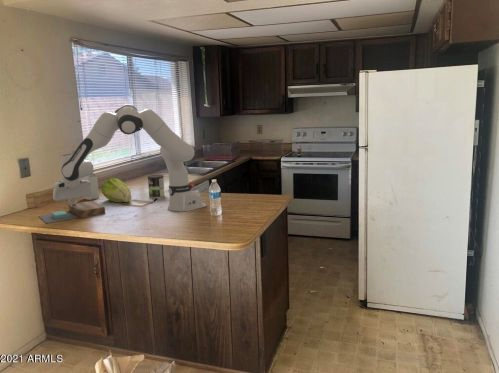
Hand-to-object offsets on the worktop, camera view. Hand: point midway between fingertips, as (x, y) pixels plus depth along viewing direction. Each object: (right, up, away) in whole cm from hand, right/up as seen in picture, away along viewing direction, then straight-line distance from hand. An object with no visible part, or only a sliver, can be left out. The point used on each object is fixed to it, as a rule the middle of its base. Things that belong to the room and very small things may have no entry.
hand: (73, 206), depth 242 cm
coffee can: (+38, +4, +42) cm, 57 cm away
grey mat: (-7, -6, -4) cm, 10 cm away
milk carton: (-6, +3, +43) cm, 44 cm away
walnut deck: (+6, -4, +5) cm, 8 cm away
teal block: (-6, -4, -4) cm, 9 cm away
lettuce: (+16, +1, +32) cm, 36 cm away
